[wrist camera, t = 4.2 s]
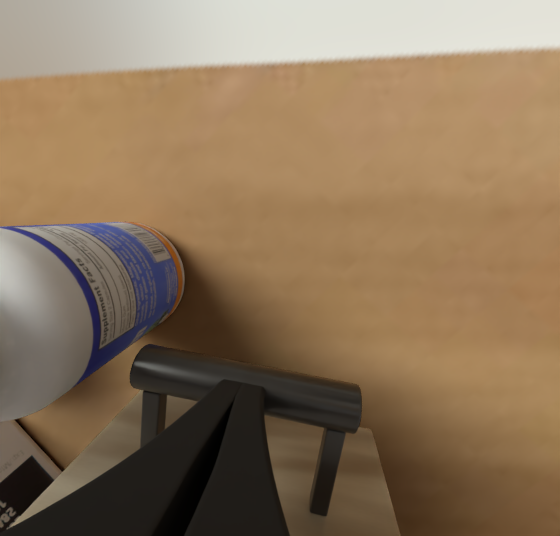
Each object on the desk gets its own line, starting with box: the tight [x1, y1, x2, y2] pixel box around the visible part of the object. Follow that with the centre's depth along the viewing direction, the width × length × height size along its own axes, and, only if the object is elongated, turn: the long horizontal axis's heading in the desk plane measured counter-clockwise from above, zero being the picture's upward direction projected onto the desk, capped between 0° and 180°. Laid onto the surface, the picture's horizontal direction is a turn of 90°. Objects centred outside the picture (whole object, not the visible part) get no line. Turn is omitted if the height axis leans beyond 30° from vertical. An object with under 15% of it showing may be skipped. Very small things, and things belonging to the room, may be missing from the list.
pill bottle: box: [0, 222, 185, 422], centre depth 10 cm, size 5×5×10 cm
